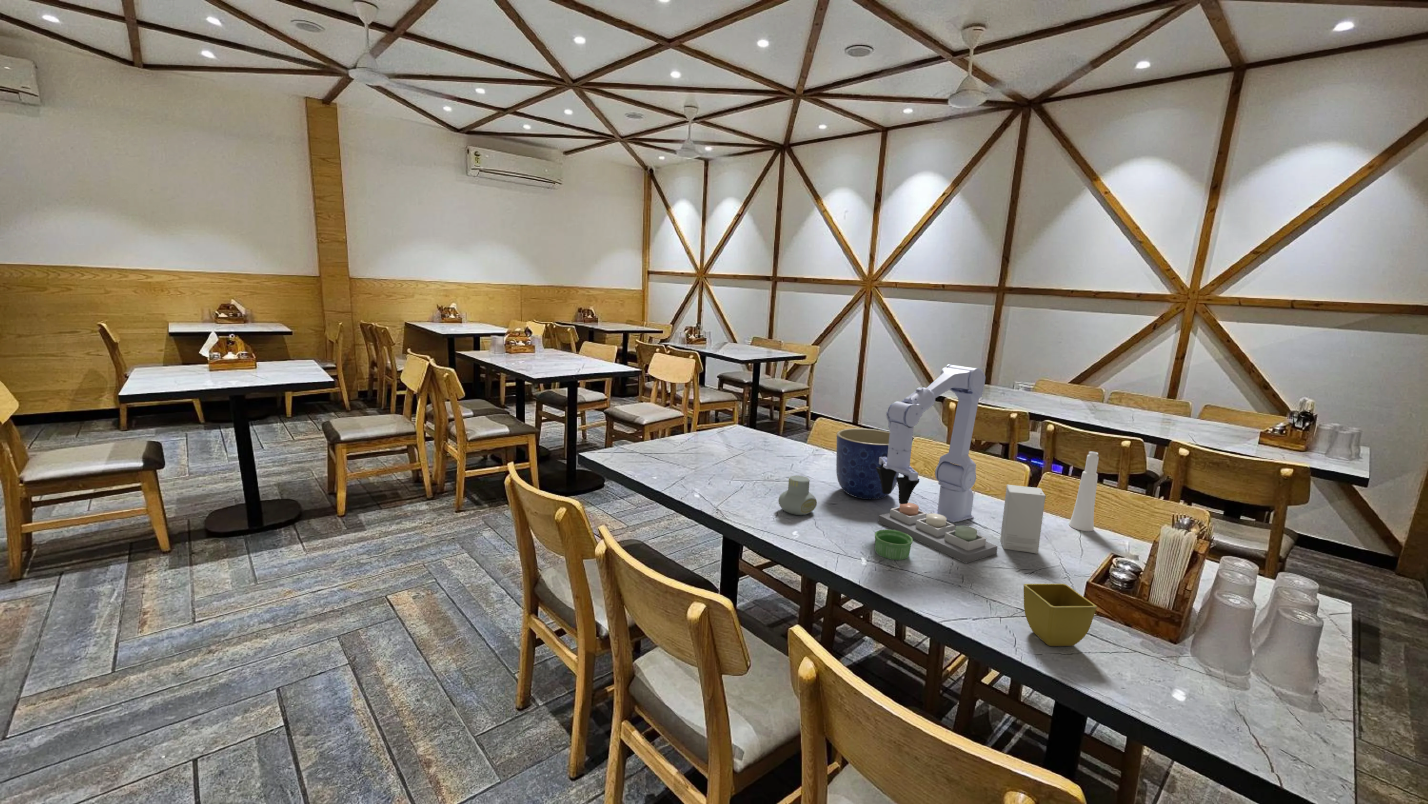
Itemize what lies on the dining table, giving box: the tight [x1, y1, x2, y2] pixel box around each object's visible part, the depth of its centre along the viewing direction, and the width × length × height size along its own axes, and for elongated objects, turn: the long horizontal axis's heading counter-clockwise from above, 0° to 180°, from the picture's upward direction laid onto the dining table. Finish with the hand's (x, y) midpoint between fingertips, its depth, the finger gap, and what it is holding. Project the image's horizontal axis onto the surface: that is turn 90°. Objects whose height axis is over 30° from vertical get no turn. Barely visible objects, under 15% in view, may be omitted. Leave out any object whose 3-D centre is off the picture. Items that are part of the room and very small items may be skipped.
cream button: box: [925, 512, 947, 528], centre depth 154 cm, size 5×5×2 cm
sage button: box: [955, 524, 978, 542], centre depth 146 cm, size 5×5×2 cm
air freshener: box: [777, 475, 818, 516], centre depth 168 cm, size 11×8×10 cm
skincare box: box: [999, 484, 1047, 554], centre depth 149 cm, size 8×7×16 cm
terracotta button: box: [898, 502, 920, 516], centre depth 161 cm, size 5×5×2 cm
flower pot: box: [1023, 583, 1098, 647], centre depth 109 cm, size 9×9×9 cm
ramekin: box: [874, 529, 914, 561], centre depth 143 cm, size 9×9×4 cm
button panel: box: [877, 506, 998, 564], centre depth 154 cm, size 12×28×4 cm, turn 31°
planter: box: [835, 427, 900, 500], centre depth 184 cm, size 21×21×19 cm
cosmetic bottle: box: [1068, 451, 1100, 532], centre depth 164 cm, size 6×6×22 cm
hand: (894, 498), depth 154 cm, fingers open, 7 cm apart
